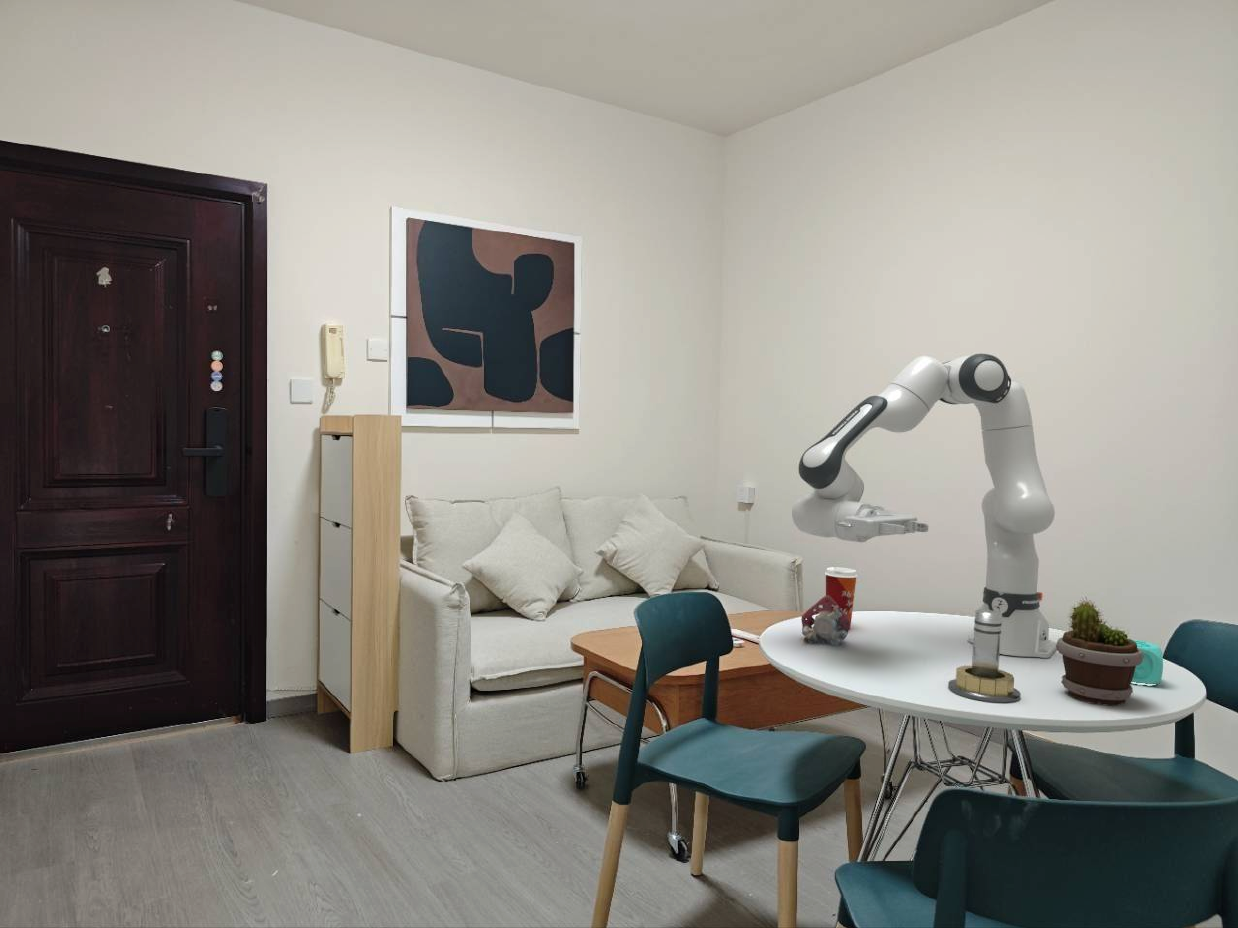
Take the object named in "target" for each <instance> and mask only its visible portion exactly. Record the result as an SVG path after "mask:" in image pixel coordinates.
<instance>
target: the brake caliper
mask: <svg viewBox="0 0 1238 928" xmlns="http://www.w3.org/2000/svg"><path fill="white" fill-rule="evenodd" d="M826 600H828V602H827V601H826ZM820 606H822V607H820ZM832 606H833V607H834V610H832V609H831V607H832ZM813 616H815V618H814V617H813ZM838 618H839V619H840V620H839V621H838ZM849 628H850V629H851V626H850V620H849V619H848V617H847V616H846V615H845V614H844V613H843V611H842V610H841V609H840V608H839V606H838V605H837V604H836V603H835V602H834V601H833V599H832V598H831V597H830V596H828V595H826V594H825V595H824V596H823V597H822V598H820V599H819V600H818V601H817V602H816V603H815V604H813V605H812V606H811V607H810V608H809V609H807V610H806V611H805V612H804V613H803V614H802V616H801V634H802V635H803V636H804V637H802V638H801V641H800V642H801V644H802V645H806V644H807V643H810V644H817V645H819V644H820V645H829V646H837V647H838V646H841V645H842V643H843V641H845V639H846V638H847V637H848V633H849V631H850V629H849Z"/></svg>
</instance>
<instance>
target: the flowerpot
mask: <svg viewBox="0 0 1238 928" xmlns="http://www.w3.org/2000/svg"><path fill="white" fill-rule="evenodd" d="M1085 599H1086V600H1085ZM1085 599H1084V598H1083V597H1081V600H1080V601H1078V605H1077V606H1076V604H1074V606H1071V605H1070V606H1069V607H1070V608H1072V609H1070V610H1069V612H1070V613H1069V612H1068V615H1067V618H1068V620H1069V622H1068V624H1067V626H1069V628H1068V631H1065V632H1063V635H1062V637H1060V638H1058V639H1057V641H1056V643H1057V644H1056V647H1057V650H1056V651H1058V653H1060V654H1061V655H1062V660H1063V666H1064V672H1065V674H1063V675H1062V676H1061V679H1062V680H1061V681H1060V683H1061V684H1062V685H1063V687H1064V689H1066V690H1067V693H1068V695H1070V696H1071V697H1073V698H1075V699H1078V700H1080V701H1083V702H1088V703H1092V704H1100V705H1103V704H1107V705H1106V706H1114V705H1115V704H1120V705H1122V704H1125V703H1126V700H1128V699H1129V698H1131V695H1132V694H1133V693H1134V691H1133V685H1132V684H1131V681H1132V679H1133V676H1134V672H1135V668H1136V666H1137V665H1140V664H1141V663H1142V662H1143V658H1144V655H1143V652H1142V651H1141V650H1140V649H1138V648H1137V644H1136V642H1134V641H1133V640H1134V639H1132V640H1131V638H1129V637H1128V635H1129V633H1126V632H1127V631H1128V632H1129V630H1127V629H1126V630H1120V629H1121V628H1123V626H1121V627H1117V626H1116V625H1115V624H1113V625H1111V626H1110V627H1109V625H1107V623H1109V622H1107V620H1105V621H1103V617H1104V614H1102V613H1103V611H1104V610H1103V611H1101V612H1100V608H1098V606H1097V605H1095V602H1096V601H1093V602H1092V599H1091V600H1088V598H1087V597H1085ZM1096 608H1098V609H1096ZM1114 626H1115V627H1114ZM1112 627H1114V629H1113V628H1112ZM1124 702H1125V703H1124ZM1113 704H1114V705H1113Z"/></svg>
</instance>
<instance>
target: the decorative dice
mask: <svg viewBox="0 0 1238 928" xmlns="http://www.w3.org/2000/svg"><path fill="white" fill-rule="evenodd" d="M1130 639H1131V638H1130ZM1131 640H1133V641H1134V642H1136V644H1137V648H1138V649H1140V650H1141V651H1142V652H1143V655H1144V658H1143V662H1142V663H1141V664H1140V665H1137V666H1136V668H1135V672H1134V676H1133V679H1132V681H1131V682H1136V683H1145V684H1157V685H1158V684H1160V683H1161V680H1162V677H1163V670H1164V658H1163V657H1164V656H1163V652H1162V648H1161V647H1160V646H1159V645H1158V644H1155V643H1153V642H1150V641H1146V640H1140V639H1133V638H1132V639H1131Z"/></svg>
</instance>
